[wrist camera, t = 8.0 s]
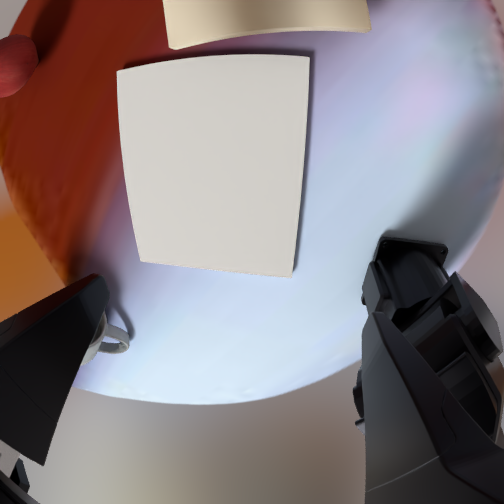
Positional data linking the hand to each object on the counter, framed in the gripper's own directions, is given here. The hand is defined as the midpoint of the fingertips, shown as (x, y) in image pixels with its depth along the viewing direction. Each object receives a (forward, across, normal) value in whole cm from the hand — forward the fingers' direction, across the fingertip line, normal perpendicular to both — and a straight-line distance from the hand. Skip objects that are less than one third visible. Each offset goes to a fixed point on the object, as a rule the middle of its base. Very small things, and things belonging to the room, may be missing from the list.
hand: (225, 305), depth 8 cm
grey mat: (+12, +4, -1) cm, 13 cm away
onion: (+12, +21, -12) cm, 27 cm away
